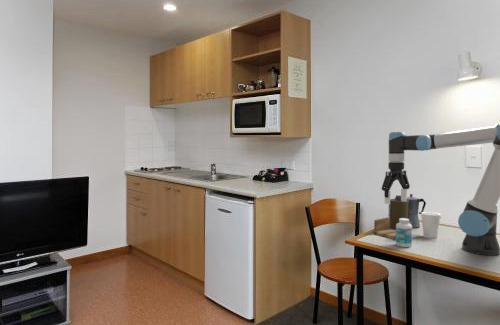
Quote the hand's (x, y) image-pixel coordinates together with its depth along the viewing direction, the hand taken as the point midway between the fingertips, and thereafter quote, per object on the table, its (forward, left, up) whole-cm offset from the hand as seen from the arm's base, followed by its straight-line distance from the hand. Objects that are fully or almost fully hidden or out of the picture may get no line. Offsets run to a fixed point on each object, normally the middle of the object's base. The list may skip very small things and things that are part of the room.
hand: (395, 202), depth 176 cm
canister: (+14, -25, -21) cm, 35 cm away
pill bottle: (-7, +3, -21) cm, 22 cm away
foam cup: (-6, -24, -21) cm, 32 cm away
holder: (+7, -9, -21) cm, 23 cm away
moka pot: (+12, -37, -21) cm, 44 cm away
